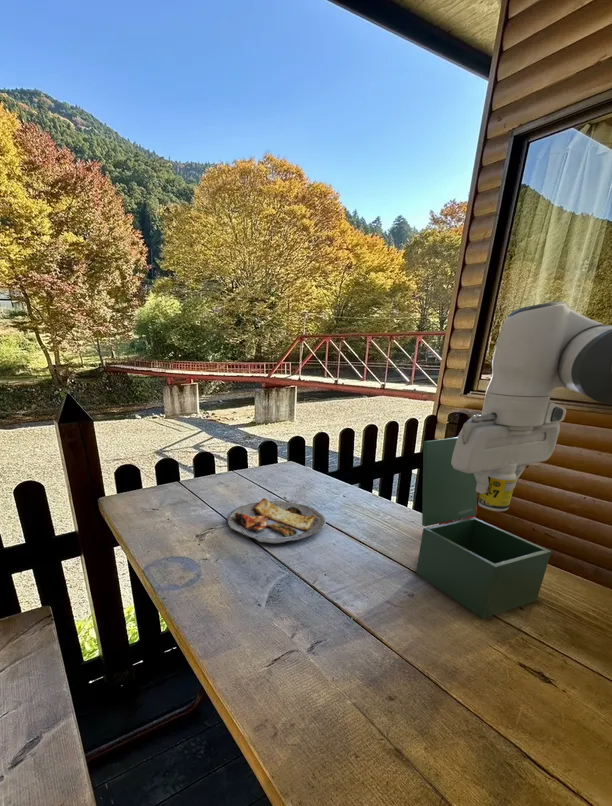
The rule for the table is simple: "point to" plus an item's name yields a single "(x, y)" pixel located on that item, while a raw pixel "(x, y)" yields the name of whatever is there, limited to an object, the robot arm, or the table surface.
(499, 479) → the supplement bottle
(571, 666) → the table surface
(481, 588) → the chest
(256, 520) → the food plate
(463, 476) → the lid
